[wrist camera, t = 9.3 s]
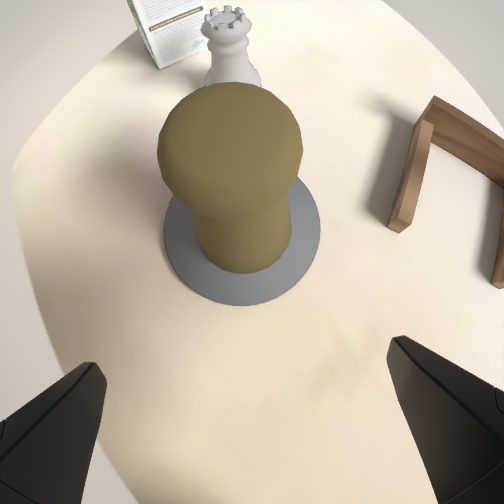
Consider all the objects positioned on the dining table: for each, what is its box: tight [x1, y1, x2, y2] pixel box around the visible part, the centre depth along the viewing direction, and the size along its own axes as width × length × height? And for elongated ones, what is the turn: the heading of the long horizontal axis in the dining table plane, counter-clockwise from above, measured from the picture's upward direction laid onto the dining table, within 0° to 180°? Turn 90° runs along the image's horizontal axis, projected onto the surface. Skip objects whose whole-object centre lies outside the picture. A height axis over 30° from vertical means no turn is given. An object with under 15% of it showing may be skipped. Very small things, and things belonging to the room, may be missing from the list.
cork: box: [157, 82, 303, 274], centre depth 15 cm, size 6×6×11 cm
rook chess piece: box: [200, 6, 262, 88], centre depth 19 cm, size 4×4×8 cm
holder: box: [387, 95, 504, 289], centre depth 19 cm, size 10×11×4 cm
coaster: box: [164, 177, 320, 306], centre depth 20 cm, size 10×10×1 cm
